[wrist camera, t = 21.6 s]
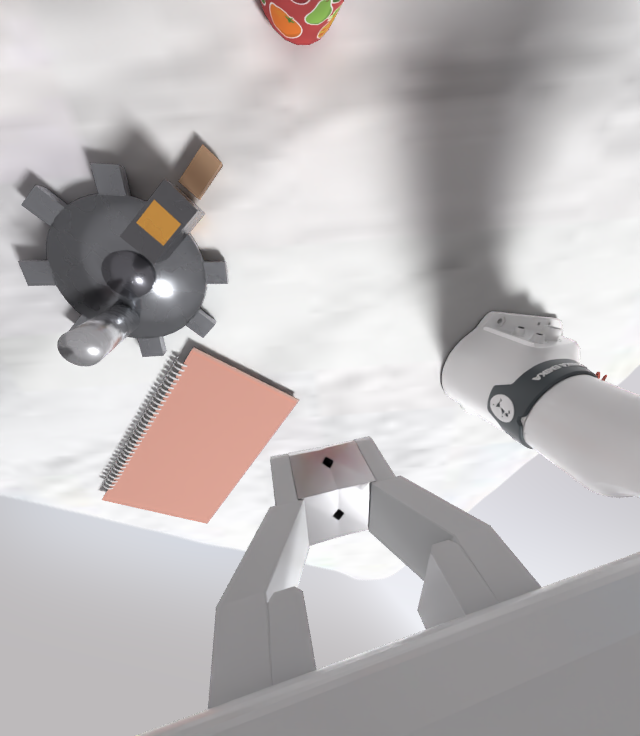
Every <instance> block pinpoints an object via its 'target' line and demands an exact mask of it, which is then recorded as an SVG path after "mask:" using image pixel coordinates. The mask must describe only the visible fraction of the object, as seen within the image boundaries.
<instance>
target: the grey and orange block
mask: <svg viewBox="0 0 640 736" xmlns="http://www.w3.org/2000/svg"><path fill="white" fill-rule="evenodd" d="M204 215H205V213H204V212H203V211H202V210H201V209H200V208H199V207H198V206H197V205H196V204H195V203H194V202H193V201H192V200H191V199H190V198H189V197H188V196H186V195H185V194H184V193H183V192H182V191H181V190H180V189H179V188H178V187H177V186H175V185H174V184H172V183H171V182H169V181H168V180H166V179H164V180H163V181H162V183H161V184H160V185H159V187H158V188H157V189H156V190H155V192H154V193H153V194H152V196H151V197H150V198H149V199H148V201H147V202H146V203H145V205H144V206H143V207H142V208H141V210H140V211H139V212H138V213H137V215H136V216H135V217H134V219H133V220H132V221H131V222H130V224H129V225H128V226H127V228H126V229H125V230H124V231H123V233H122V234H121V235H120V237H121V238H122V239H123V240H124V241H126V242H127V243H128V244H129V245H131V246H132V247H133V248H134V249H136V250H137V251H138V252H139V253H141V254H142V255H143V256H144V257H146V258H147V259H148V260H149V261H151V262H152V263H153V264H156V263H158V262H161V261H164V260H167V259H168V258H169V257H170V256H171V255H172V253H173V252H174V251H175V250H176V248H177V247H178V246H179V245H180V244H181V242H182V241H183V240H184V239H185V238H186V236H187V235H188V234H189V233H190V232H191V230H192V229H193V228H194V227H195V226H196V224H197V223H198V222H199V221H200V219H201V218H202V217H203V216H204Z"/></svg>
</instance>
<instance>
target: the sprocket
mask: <svg viewBox="0 0 640 736" xmlns="http://www.w3.org/2000/svg"><path fill="white" fill-rule="evenodd" d="M90 165H91V168H92V172H93V176H94V179H95V183H96V187H97V190H98V194H92V195H88V196H85V197H82V198H79V199H77V200H75V201H73V202H71V203H70V204H68V205H67V204H66V203H65V202H63V201H62V200H61V199H60V198H58V197H57V196H56V195H55V194H53V193H52V192H51V191H49V190H48V189H47V188H46V187H42V186H37V185H35V186H34V187H33V189H32V190H31V192H30V193H29V195H28V196H27V197H26V199H25V200H24V202H23V203H22V206H23V207H25V208H26V209H27V210H29V211H30V212H32V213H33V214H34V215H36V216H37V217H38V218H40V219H41V220H43V221H44V222H45V223H47V224H48V225H49V226H51V227H50V229H49V232H48V236H47V242H46V255H47V260H24V261H18V262H19V265H20V267H21V270H22V272H23V275H24V277H25V279H26V282H27V284H28V286H39V285H56V286H57V287H58V289H59V291H60V292H61V294H62V295H63V296H64V298H65V299H66V300H67V301H68V303H69V304H70V305H71V306H72V307H73V308H74V309H75V310H76V311H78V312H79V313H80V314H81V316H80V317H79V319H78V320H77V321H76V322H75V324H74V325H73V326H72V327H71V329H70V330H69V331H68V332H67V333H65V334H63V335H62V336H61V337H60V338H59V340H58V345H57V346H58V350H59V352H60V354H61V355H62V356H63V357H64V358H65V359H66V360H67V361H69V362H71V363H73V364H75V365H79V366H91V365H95V364H97V363H98V362H99V361H100V360H101V359H103V358H104V357H105V356H106V355H107V354H108V353H109V352H110V351H112V350H113V349H114V348H115V347H116V346H117V345H118V344H119V343H120V342H122V341H123V340H124V339H125V338H126V337H133V338H138V342H139V346H140V349H141V353H142V357H149V356H164V354H165V352H166V347H165V343H164V338H163V336H166V335H168V334H171V333H174V332H176V331H177V330H179V329H181V328H182V327H184V326H185V325H186V326H187V327H189V328H190V329H191V330H193V331H194V332H196V333H197V334H198V335H200V336H201V337H202V338H203V337H204V336H205V335H206V334H207V333H208V332H209V331H210V330H211V329H212V327H213V326H214V325H215V323H216V321H215V320H214V319H213V318H211V317H210V316H209V315H208V314H206V313H205V312H204V311H203V310H201V309H200V307H201V305H202V303H203V301H204V298H205V294H206V290H207V284H228V274H227V265H226V261H204V259H203V256H202V253H201V251H200V249H199V247H198V245H197V244H196V242H195V240H194V239H193V237H192V236H191V235H190V233H189V234H188V235H187V236H186V238H185V239H184V240H183V241H182V242H181V244H180V245H179V246H178V247H177V248H176V250H175V251H174V252H173V253H172V255H171V256H170V257H169V258H168V259H167V260H164V261H161V262H158V263H156V264H153V263H152V262H151V261H149V260H148V259H147V258H146V257H144V256H143V255H142V254H141V253H139V252H138V251H137V250H136V249H134V248H133V247H132V246H131V245H129V244H128V243H127V242H126V241H124V240H123V239H122V238H121V237H120V235H121V234H122V233H123V231H124V230H125V229H126V228H127V226H128V225H129V224H130V222H131V221H132V220H133V219H134V217H135V216H136V215H137V213H138V212H139V211H140V210H141V208H142V207H143V206H144V205H145V203H146V202H147V201H144V200H142V199H139V198H136V197H132V196H131V194H130V189H129V185H128V181H127V176H126V172H125V168H124V167H122V166H120V165H116V164H103V163H90Z"/></svg>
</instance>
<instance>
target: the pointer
mask: <svg viewBox="0 0 640 736" xmlns="http://www.w3.org/2000/svg"><path fill="white" fill-rule="evenodd" d="M222 166H223V165H222V163H221V162H220V161H219V160H218V159H217V158H216V157H215V156H214V155H213V154H212V153H211V152H210V151H209V150H208V149H207V148H206V147H205V146H204V145H203V144H202V146H201V147H200V149H199V150H198V152H197V153H196V155H195V156H194V158H193V159H192V161H191V163H190V164H189V166H188V167H187V169H186V170H185V172H184V173H183V175H182V176H181V178H180V179H179V181H178V182H179V183H181V184H182V185H183V186H184V187H185V188H186V189H188V190H189V191H190V192H191V193H192V194H193V195H194V196H196V197H197V198H198V199H199V200H200V199H201V197H202V196H203V194H204V193H205V191H206V190H207V188H208V187H209V186H210V184H211V183H212V181H213V180H214V178H215V177H216V175H217V174H218V172H219V171H220V169H221V168H222Z"/></svg>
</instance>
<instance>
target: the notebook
mask: <svg viewBox="0 0 640 736" xmlns="http://www.w3.org/2000/svg"><path fill="white" fill-rule="evenodd" d="M177 358H179V356H177V357H176V359H175V360H176V361H174V362H173V366H171V367H170V370H169V371H168V372H167V375H165V379H163V381H162V383H161V384H160V386H159V388H158V389H157V392H156V393H158V394H159V395H161V396H162V397H163V398H162V399H160V398H158V397H157V396H156V393H155V394H154V396H153V398H152V400H151V401H150V404H149V405H150V406H151V407H152V408H153V409H155V411H154V412H153V411H151V410H150V409H149V405H148V406H147V408H146V409H145V412H144V413H143V415H142V417H141V418H140V420H139V421H138V424H137V425H136V426H135V428H134V430H133V432H132V433H131V436H130V437H131V439H132V440H134V441H136V443H135V444H134V443H132V442H131V441H130V440H131V439H130V437H129V438H128V440H127V442H126V444H125V445H124V447H123V448H122V451H121V452H120V453H119V455H118V457H117V459H116V460H115V462H114V464H113V466H112V467H111V469H110V471H109V473H108V474H109V475H108V474H107V476H106V477H105V480H104V481H103V482H102V485H103V487H104V488H106V489H107V491H106V493H105V495H104V497H103V499H102V500H104V501H109V502H113V503H118V504H122V505H127V506H131V507H136V508H140V509H145V510H149V511H153V512H158V513H162V514H167V515H171V516H176V517H180V518H185V519H189V520H194V521H198V522H203V523H208V522H209V521H210V519H211V518H212V517H213V515H214V514H215V513H216V511H217V510H218V509H219V507H220V506H221V505H222V503H223V502H224V501H225V499H226V498H227V497H228V495H229V494H230V493H231V491H232V490H233V489H234V487H235V486H236V485H237V483H238V482H239V480H240V479H241V478H242V476H243V475H244V474H245V472H246V471H247V470H248V468H249V467H250V466H251V464H252V463H253V462H254V460H255V459H256V458H257V456H258V455H259V454H260V452H261V451H262V450H263V448H264V447H265V446H266V444H267V443H268V442H269V440H270V439H271V438H272V436H273V435H274V434H275V432H276V431H277V430H278V428H279V427H280V426H281V424H282V423H283V422H284V420H285V419H286V418H287V416H288V415H289V414H290V412H291V411H292V410H293V408H294V407H295V406H296V404H297V403H298V401H299V399H297V398H295V397H293V396H291V395H289V394H287V393H285V392H283V391H281V390H279V389H277V388H275V387H273V386H271V385H269V384H267V383H265V382H263V381H261V380H259V379H257V378H255V377H253V376H251V375H249V374H247V373H245V372H243V371H241V370H239V369H237V368H235V367H233V366H231V365H229V364H227V363H225V362H223V361H221V360H219V359H217V358H215V357H213V356H211V355H209V354H207V353H205V352H203V351H201V350H199V349H197V348H195V347H193V348H192V349H191V351H190V353H189V354H188V356H187V358H186V359H185V361H184V363H183V364H182V363H180V362H179V361H178V360H177ZM176 362H177V363H178V364H180V365H181V368H178V367H176V366H175V364H174V363H176ZM172 367H174V368H176V369H177V370H179V371H178V373H175V372H174V371H173V370H172ZM169 372H172V373H173V374H175V375H176V376H175V378H174V377H172V376H171V375H170V374H169ZM166 376H169V377H170V378H172V379H173V381H172V382H170V381H169V380H168V379H167V378H166ZM164 380H166V381H167V382H168V383H170V386H167V385H166V384H165V383H164ZM162 384H163V385H164V386H165V387H167V388H168V389H167V391H166V390H164V389H163V388H162V387H161V385H162ZM159 389H161V390H162V391H164V392H166V393H165V394H164V395H162V394H161V393H160V392H159ZM154 397H155V398H156V399H157V400H159V401H160V403H157V402H155V401H154ZM152 401H153V403H155V404H156V405H158V406H157V408H156V407H154V406H153V405H152V404H151V402H152ZM146 410H148V411H149V412H151V413H153V414H152V416H150V415H149V414H147V412H146ZM144 414H146V415H147V416H148V417H150V419H149V420H147V419H146V418H145V417H144ZM142 418H143V419H144V420H146V421H147V422H148V423H147V424H145V423H144V422H142ZM139 422H141V423H142V424H143V425H145V428H143V427H141V426H140V424H139ZM137 426H138V427H139V428H141V429H142V430H143V431H142V432H140V431H139V430H138V429H137ZM135 430H136V431H137V432H138V433H140V436H138V435H137V434H135ZM132 434H134V435H135V436H136V437H138V439H137V440H136V439H134V438H133V435H132ZM128 441H129V443H130V444H132V445H134V446H133V448H132V447H130V446H129V445H128ZM126 446H127V447H128V448H130V449H131V451H128V450H127V449H126ZM123 449H124V450H125V451H126V452H128V453H129V454H128V455H126V454H125V453H124V452H123V451H124V450H123ZM121 454H123V455H124V456H126V457H127V458H126V459H124V458H123V457H122V456H121ZM119 456H120V457H119ZM119 458H121V459H122V460H125V461H124V463H123V462H121V461H120V460H119ZM117 460H118V461H117ZM117 462H119V463H121V464H122V466H119V465H118V464H117ZM115 464H116V466H117V467H120V469H119V470H118V469H116V468H115ZM113 468H114V470H116V471H118V473H115V472H113V470H112V469H113ZM111 472H112V473H113V474H115V475H116V476H115V477H113V476H112V475H111V474H110V473H111ZM108 476H110V477H111V478H114V479H113V481H112V480H110V479H109V478H108ZM106 480H108V481H110V482H112V483H111V484H109V483H107V482H106ZM104 482H105V483H106V484H107V485H109V488H108V487H106V486H105V485H104Z"/></svg>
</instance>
